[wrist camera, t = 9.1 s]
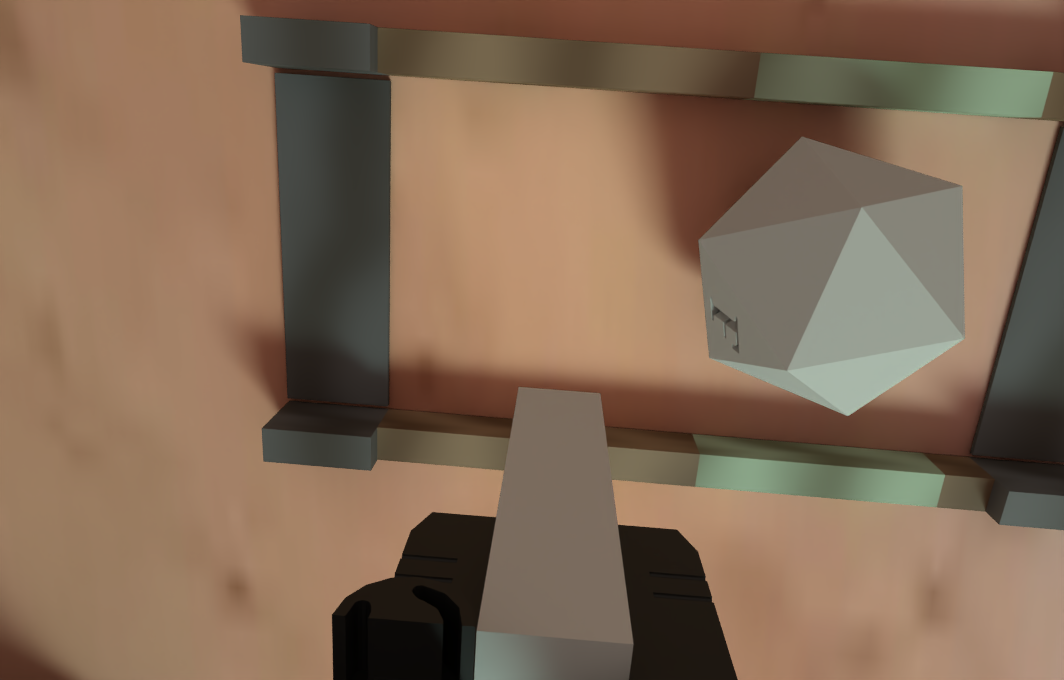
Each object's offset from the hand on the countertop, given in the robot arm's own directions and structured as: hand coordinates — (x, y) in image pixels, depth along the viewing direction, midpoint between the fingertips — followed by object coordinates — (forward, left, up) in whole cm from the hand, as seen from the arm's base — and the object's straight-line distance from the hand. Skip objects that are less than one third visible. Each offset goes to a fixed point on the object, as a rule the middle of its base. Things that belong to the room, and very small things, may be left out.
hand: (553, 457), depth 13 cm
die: (+9, +1, -17) cm, 20 cm away
